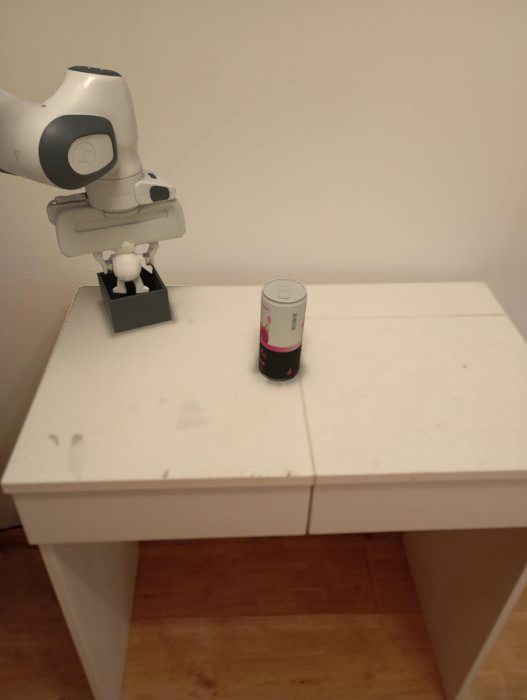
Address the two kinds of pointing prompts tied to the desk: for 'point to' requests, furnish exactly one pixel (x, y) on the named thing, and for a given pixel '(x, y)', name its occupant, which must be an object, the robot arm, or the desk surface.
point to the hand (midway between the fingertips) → (129, 267)
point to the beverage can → (281, 327)
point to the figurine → (128, 267)
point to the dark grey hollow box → (135, 301)
